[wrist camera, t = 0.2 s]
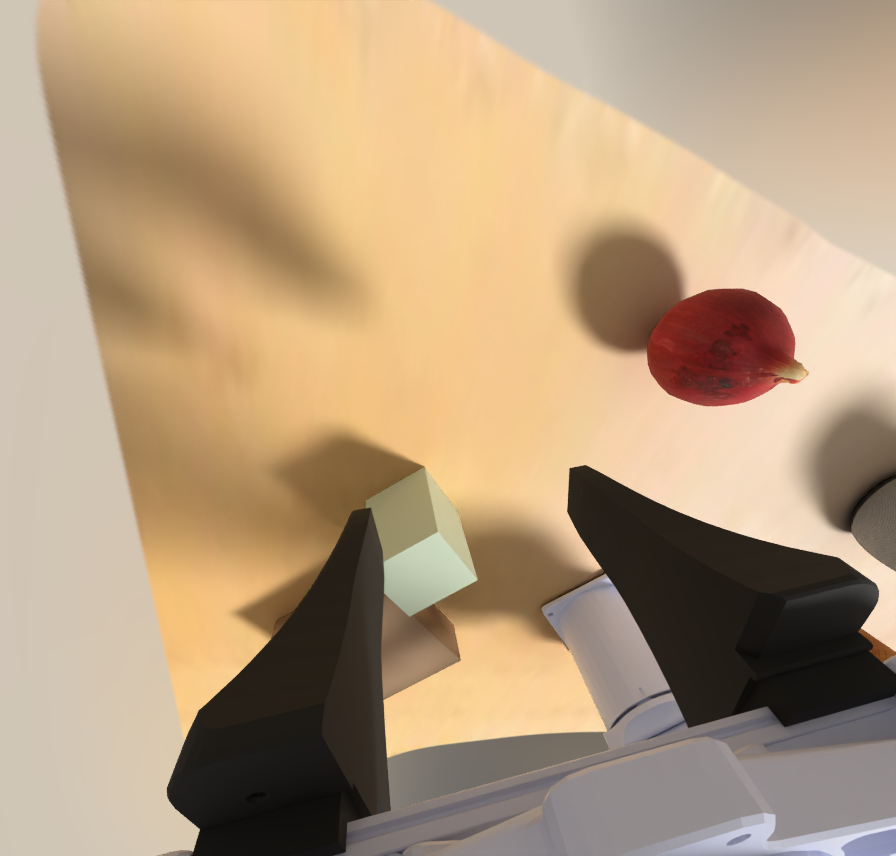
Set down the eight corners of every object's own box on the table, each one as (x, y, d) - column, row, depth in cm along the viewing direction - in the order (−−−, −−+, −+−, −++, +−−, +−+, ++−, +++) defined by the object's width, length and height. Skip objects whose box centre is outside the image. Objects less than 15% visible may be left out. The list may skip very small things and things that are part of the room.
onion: (625, 392, 24) (729, 457, 17) (612, 306, 21) (731, 341, 14) (710, 356, 23) (851, 406, 16) (708, 264, 21) (878, 278, 14)
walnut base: (453, 625, 31) (460, 660, 29) (356, 676, 32) (354, 714, 30) (388, 558, 27) (389, 594, 24) (276, 621, 28) (265, 661, 25)
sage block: (457, 510, 26) (477, 580, 21) (403, 540, 26) (409, 616, 21) (424, 466, 24) (438, 531, 18) (365, 500, 24) (362, 573, 19)
